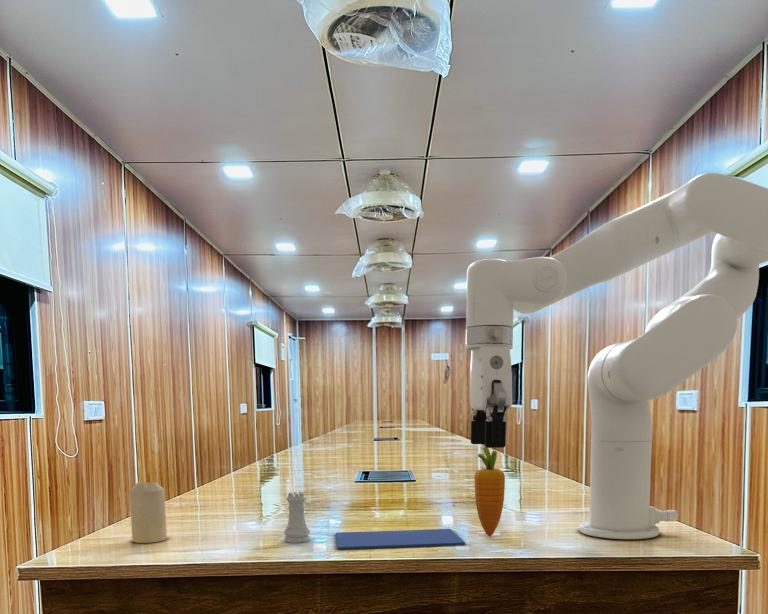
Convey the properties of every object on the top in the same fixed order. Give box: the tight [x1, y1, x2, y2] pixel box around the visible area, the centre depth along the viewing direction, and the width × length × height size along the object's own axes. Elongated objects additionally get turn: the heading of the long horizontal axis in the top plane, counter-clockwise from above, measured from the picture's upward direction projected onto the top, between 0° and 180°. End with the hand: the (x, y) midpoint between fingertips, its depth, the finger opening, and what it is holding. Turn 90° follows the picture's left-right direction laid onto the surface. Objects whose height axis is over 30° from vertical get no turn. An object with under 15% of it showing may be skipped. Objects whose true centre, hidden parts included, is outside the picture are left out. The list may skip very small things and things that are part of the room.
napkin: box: [335, 528, 466, 551], centre depth 108 cm, size 20×12×1 cm, turn 96°
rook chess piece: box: [283, 491, 312, 544], centre depth 108 cm, size 4×4×8 cm
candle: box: [129, 480, 168, 544], centre depth 111 cm, size 6×6×10 cm
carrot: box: [474, 446, 506, 537], centre depth 109 cm, size 5×5×15 cm
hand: (487, 445), depth 108 cm, fingers open, 9 cm apart
